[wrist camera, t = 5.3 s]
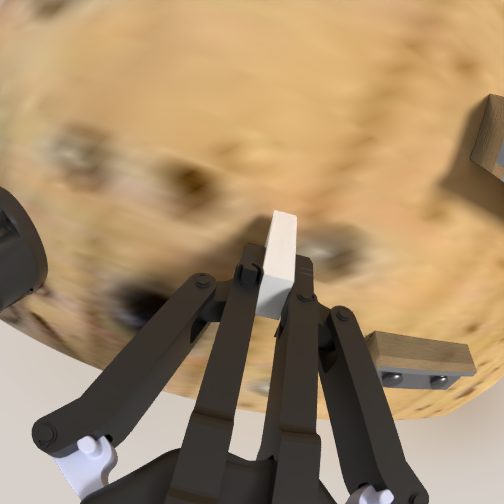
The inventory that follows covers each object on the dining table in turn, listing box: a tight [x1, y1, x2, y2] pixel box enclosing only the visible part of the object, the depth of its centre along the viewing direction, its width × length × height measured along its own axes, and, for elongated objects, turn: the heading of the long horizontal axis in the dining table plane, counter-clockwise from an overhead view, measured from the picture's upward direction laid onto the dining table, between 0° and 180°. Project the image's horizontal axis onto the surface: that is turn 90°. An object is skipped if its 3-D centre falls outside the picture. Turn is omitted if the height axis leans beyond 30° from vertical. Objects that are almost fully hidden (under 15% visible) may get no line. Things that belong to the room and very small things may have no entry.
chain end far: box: [366, 331, 477, 390], centre depth 25 cm, size 14×6×4 cm, turn 79°
